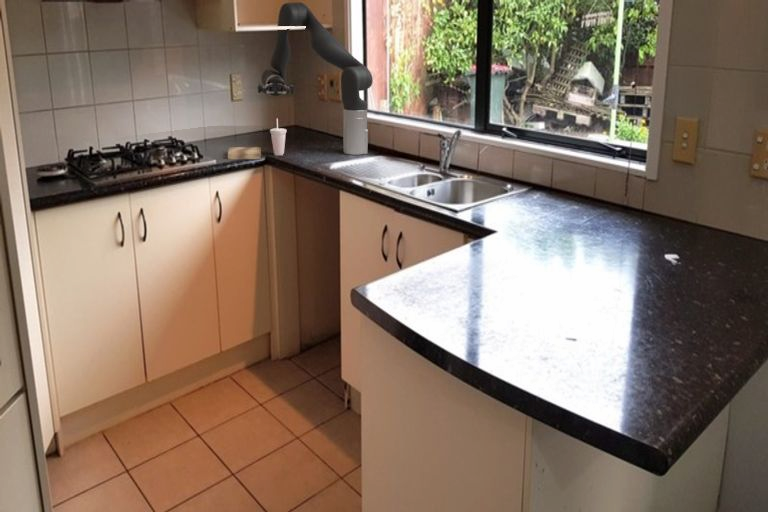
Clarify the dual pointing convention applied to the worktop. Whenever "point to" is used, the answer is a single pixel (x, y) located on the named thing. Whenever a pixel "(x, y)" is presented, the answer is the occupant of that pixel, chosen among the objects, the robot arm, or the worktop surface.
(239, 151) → the board
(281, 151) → the smoothie
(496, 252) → the worktop surface
